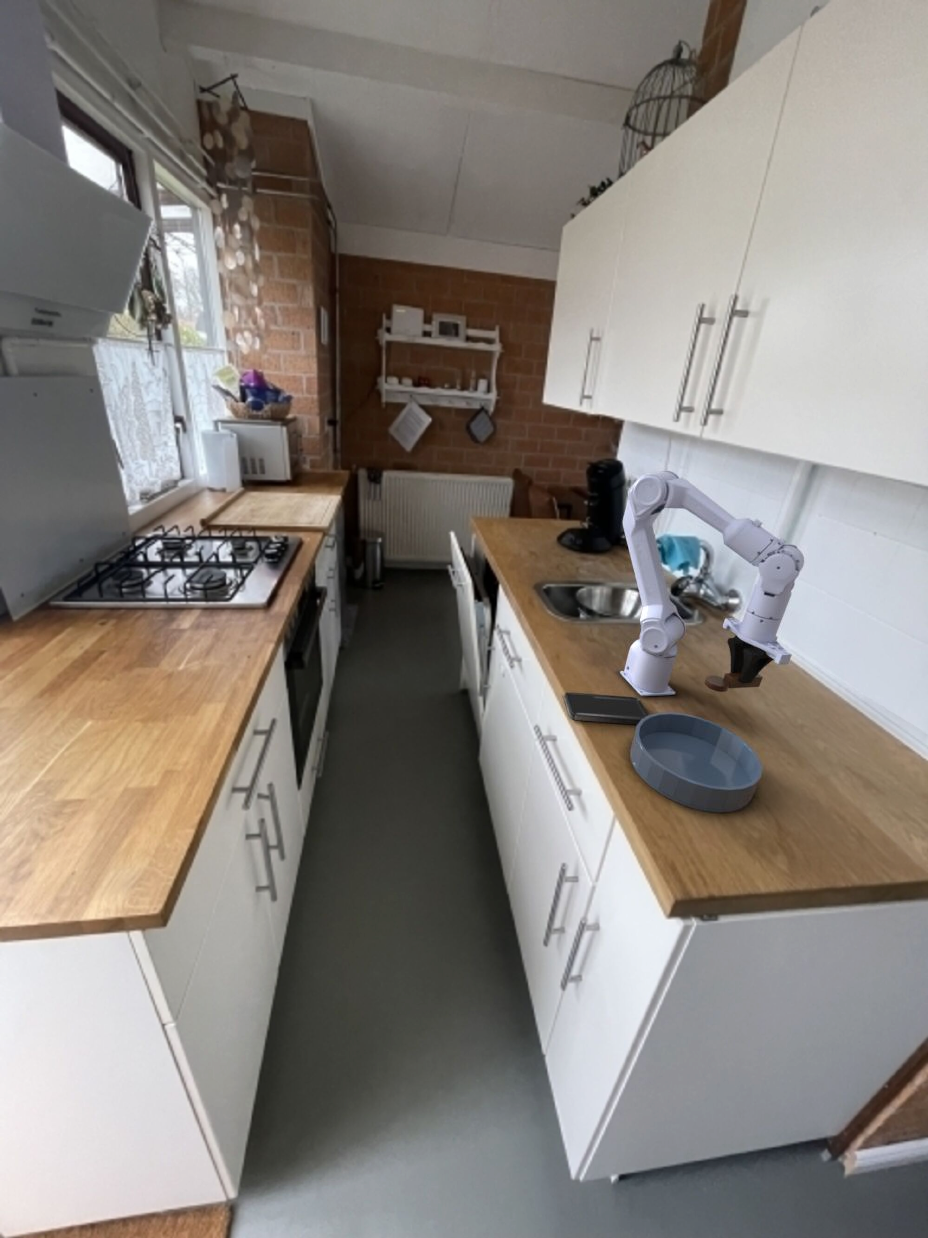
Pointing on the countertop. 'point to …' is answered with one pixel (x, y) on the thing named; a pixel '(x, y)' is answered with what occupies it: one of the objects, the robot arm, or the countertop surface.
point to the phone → (604, 708)
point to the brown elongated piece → (730, 682)
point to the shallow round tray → (695, 762)
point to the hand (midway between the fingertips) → (740, 678)
